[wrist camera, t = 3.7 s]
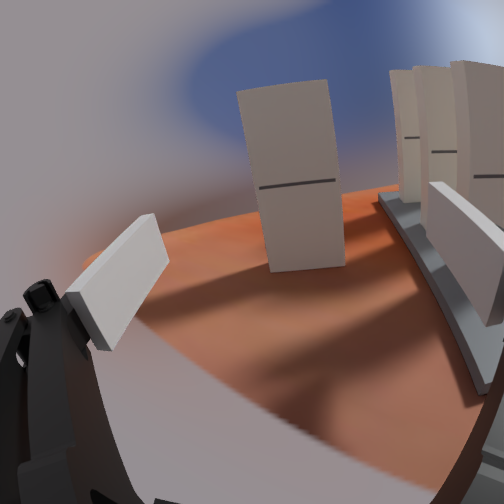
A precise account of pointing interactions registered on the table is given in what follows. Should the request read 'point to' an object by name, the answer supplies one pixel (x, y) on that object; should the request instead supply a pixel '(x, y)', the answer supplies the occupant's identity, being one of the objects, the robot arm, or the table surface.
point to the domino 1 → (295, 173)
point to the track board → (448, 294)
